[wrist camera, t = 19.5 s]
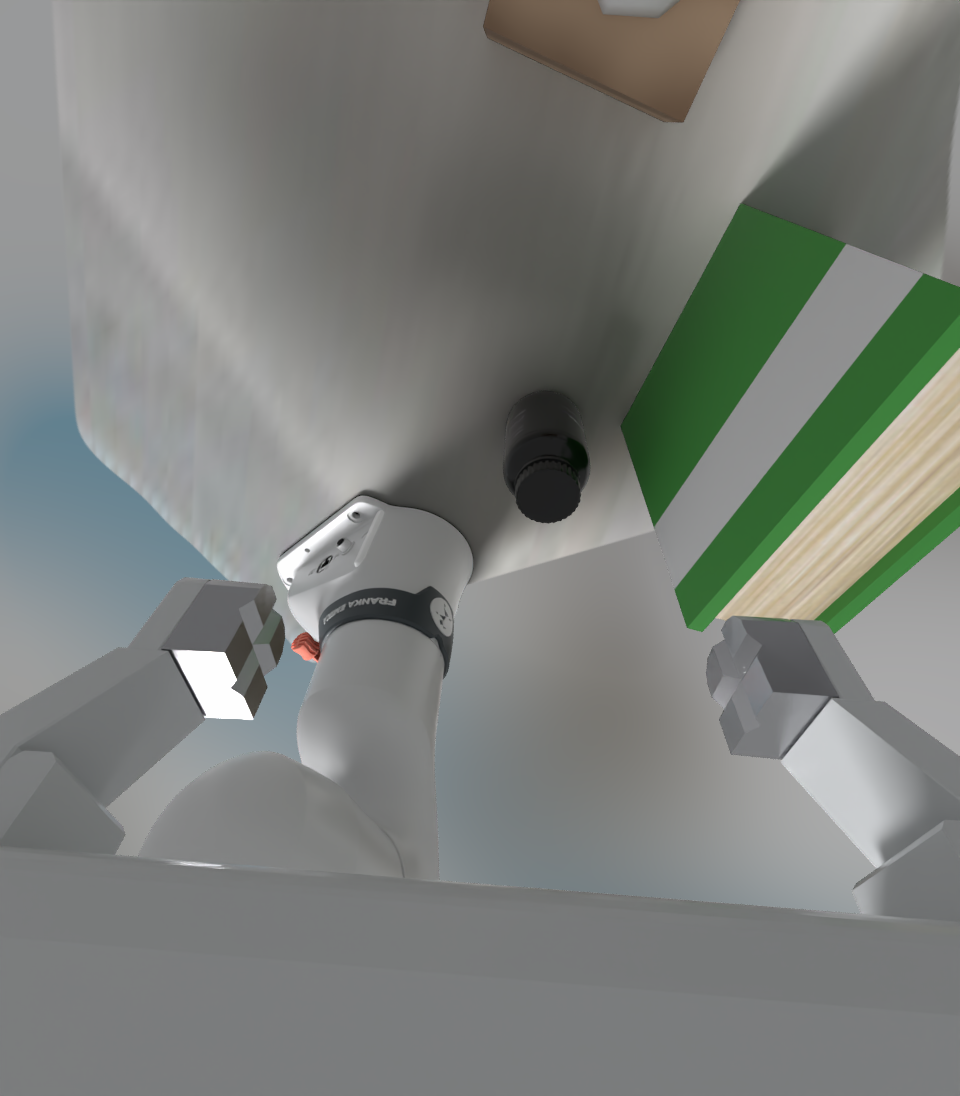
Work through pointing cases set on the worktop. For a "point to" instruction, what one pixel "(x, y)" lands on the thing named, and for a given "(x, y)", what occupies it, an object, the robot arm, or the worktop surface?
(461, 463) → the worktop surface
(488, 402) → the worktop surface
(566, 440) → the supplement bottle
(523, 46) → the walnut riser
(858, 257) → the hardback book
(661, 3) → the flask
